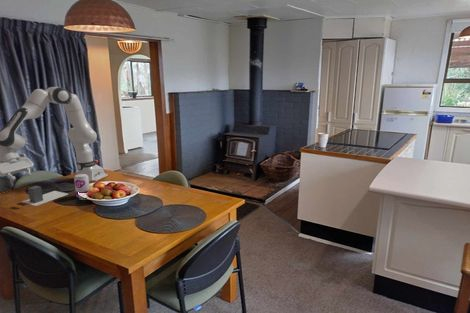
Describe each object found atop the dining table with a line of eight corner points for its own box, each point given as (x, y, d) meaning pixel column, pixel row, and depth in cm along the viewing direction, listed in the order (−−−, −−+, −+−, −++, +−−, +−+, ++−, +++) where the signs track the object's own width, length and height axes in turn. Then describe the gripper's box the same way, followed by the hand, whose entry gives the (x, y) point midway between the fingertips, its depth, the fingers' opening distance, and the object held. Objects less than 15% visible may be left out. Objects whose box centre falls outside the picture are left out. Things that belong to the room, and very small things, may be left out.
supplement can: (87, 200, 206) (84, 177, 202) (74, 200, 206) (71, 177, 202) (92, 195, 213) (90, 173, 210) (80, 195, 214) (77, 173, 210)
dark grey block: (38, 199, 204) (35, 185, 202) (43, 200, 202) (41, 186, 199) (30, 201, 199) (27, 188, 197) (35, 203, 197) (33, 189, 195)
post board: (55, 192, 219) (53, 180, 217) (69, 196, 213) (67, 183, 211) (21, 204, 200) (19, 191, 197) (36, 208, 193) (34, 194, 191)
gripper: (-7, 160, 193) (6, 178, 191) (27, 153, 211) (39, 169, 209) (-10, 167, 196) (2, 185, 194) (24, 159, 214) (36, 175, 212)
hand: (22, 177), depth 202 cm, fingers open, 8 cm apart
